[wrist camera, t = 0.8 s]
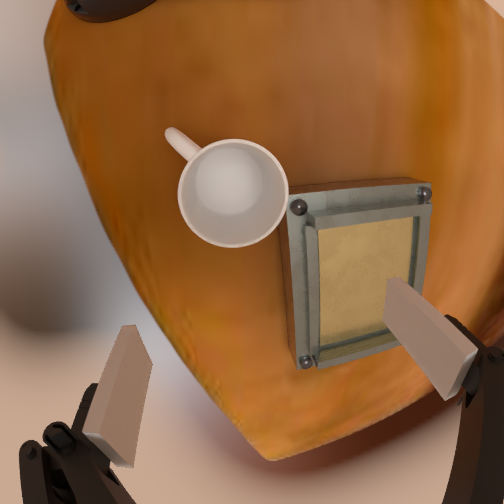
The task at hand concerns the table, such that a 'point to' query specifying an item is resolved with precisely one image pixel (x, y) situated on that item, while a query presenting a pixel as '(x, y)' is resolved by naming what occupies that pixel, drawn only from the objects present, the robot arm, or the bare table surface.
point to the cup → (230, 190)
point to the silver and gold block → (349, 263)
